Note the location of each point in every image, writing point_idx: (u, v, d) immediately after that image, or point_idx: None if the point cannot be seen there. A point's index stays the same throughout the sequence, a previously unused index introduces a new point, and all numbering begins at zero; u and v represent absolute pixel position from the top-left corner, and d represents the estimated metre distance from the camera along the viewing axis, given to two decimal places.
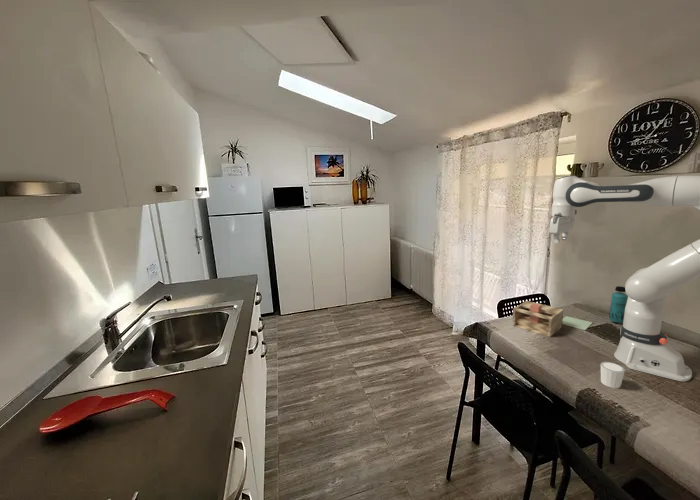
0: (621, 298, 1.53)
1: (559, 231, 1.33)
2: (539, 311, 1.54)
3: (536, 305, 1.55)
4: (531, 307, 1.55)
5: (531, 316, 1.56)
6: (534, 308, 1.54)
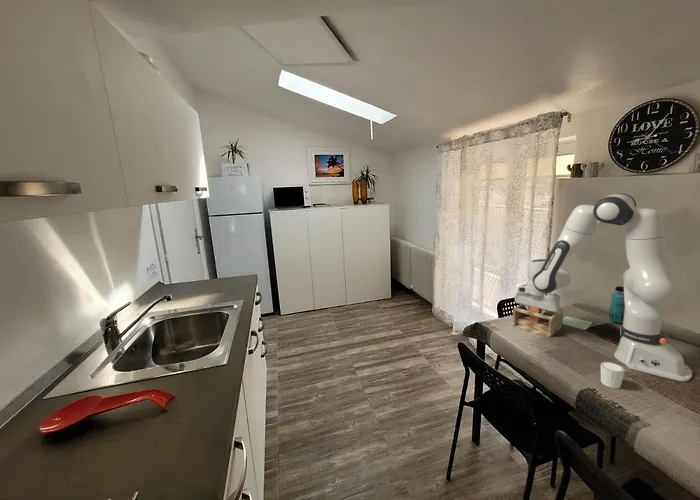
0: (621, 298, 1.53)
1: None
2: (539, 311, 1.54)
3: None
4: (531, 307, 1.55)
5: (531, 316, 1.56)
6: (534, 308, 1.54)
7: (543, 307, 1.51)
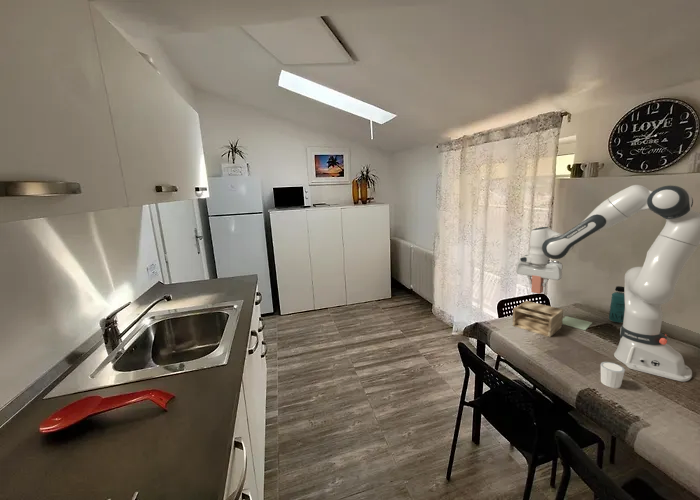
0: (621, 298, 1.53)
1: None
2: (541, 281, 1.51)
3: None
4: (533, 277, 1.52)
5: (533, 286, 1.53)
6: (536, 278, 1.51)
7: (545, 276, 1.48)
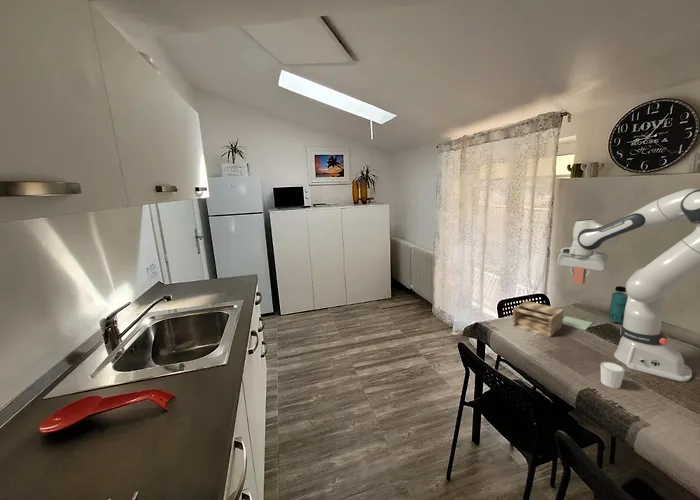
0: (621, 298, 1.53)
1: None
2: (584, 272, 1.53)
3: None
4: (576, 268, 1.55)
5: (575, 277, 1.55)
6: (579, 269, 1.54)
7: (589, 267, 1.50)
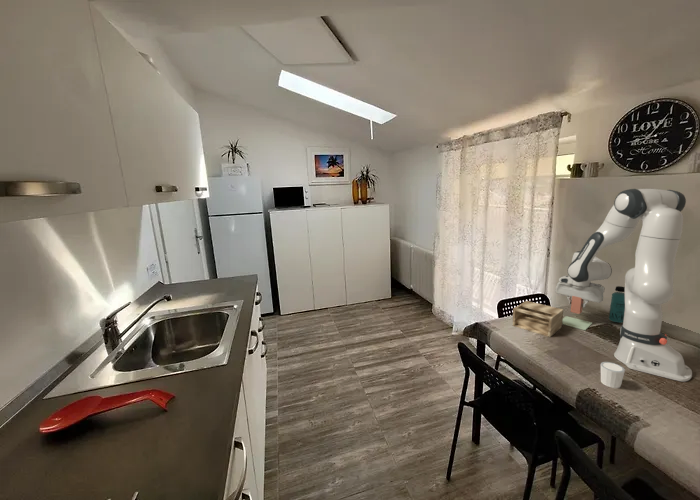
0: (621, 298, 1.53)
1: None
2: (581, 302, 1.57)
3: None
4: (573, 298, 1.58)
5: (573, 307, 1.59)
6: (576, 299, 1.57)
7: (586, 298, 1.54)
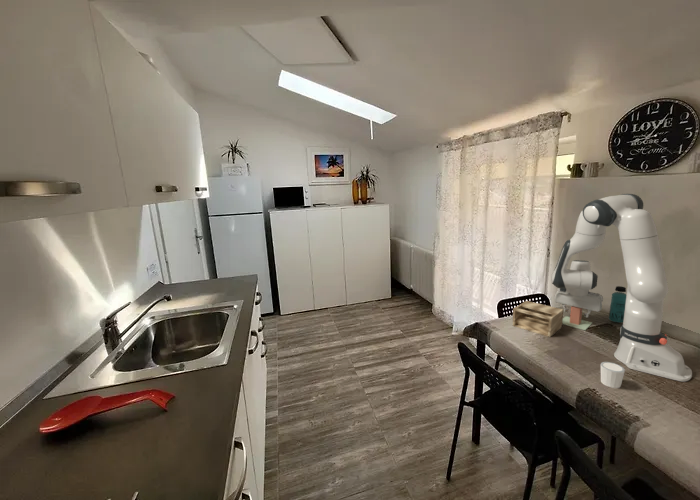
0: (621, 298, 1.53)
1: None
2: (580, 313, 1.58)
3: (577, 307, 1.58)
4: (572, 309, 1.59)
5: (572, 317, 1.60)
6: (575, 310, 1.58)
7: (585, 307, 1.54)
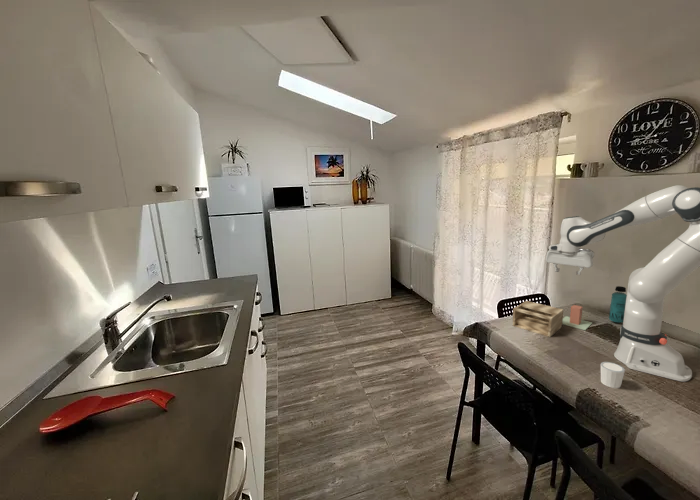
0: (621, 298, 1.53)
1: None
2: (580, 313, 1.58)
3: (577, 307, 1.58)
4: (572, 309, 1.59)
5: (572, 317, 1.60)
6: (575, 310, 1.58)
7: (576, 264, 1.51)
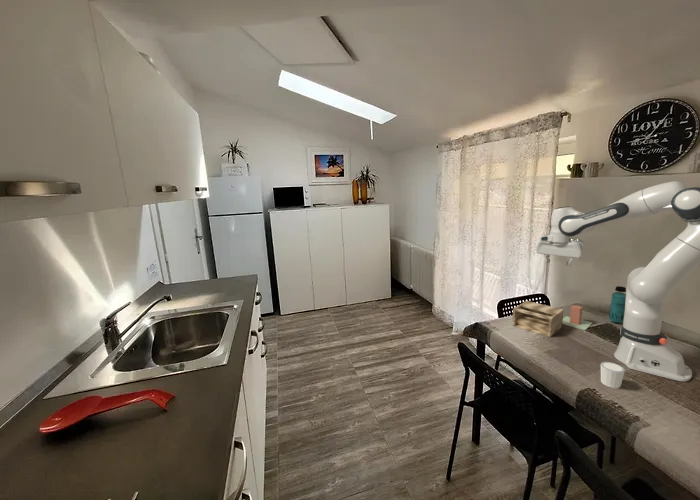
0: (621, 298, 1.53)
1: None
2: (580, 313, 1.58)
3: (577, 307, 1.58)
4: (572, 309, 1.59)
5: (572, 317, 1.60)
6: (575, 310, 1.58)
7: (566, 254, 1.51)
